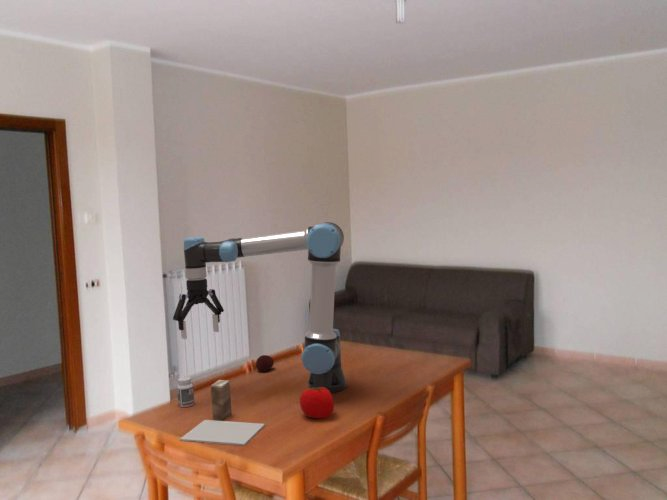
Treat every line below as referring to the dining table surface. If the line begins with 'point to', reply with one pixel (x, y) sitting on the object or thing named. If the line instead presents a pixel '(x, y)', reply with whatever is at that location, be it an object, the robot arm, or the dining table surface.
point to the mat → (223, 432)
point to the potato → (264, 363)
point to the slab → (221, 399)
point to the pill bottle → (185, 392)
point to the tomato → (317, 402)
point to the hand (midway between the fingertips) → (200, 335)
